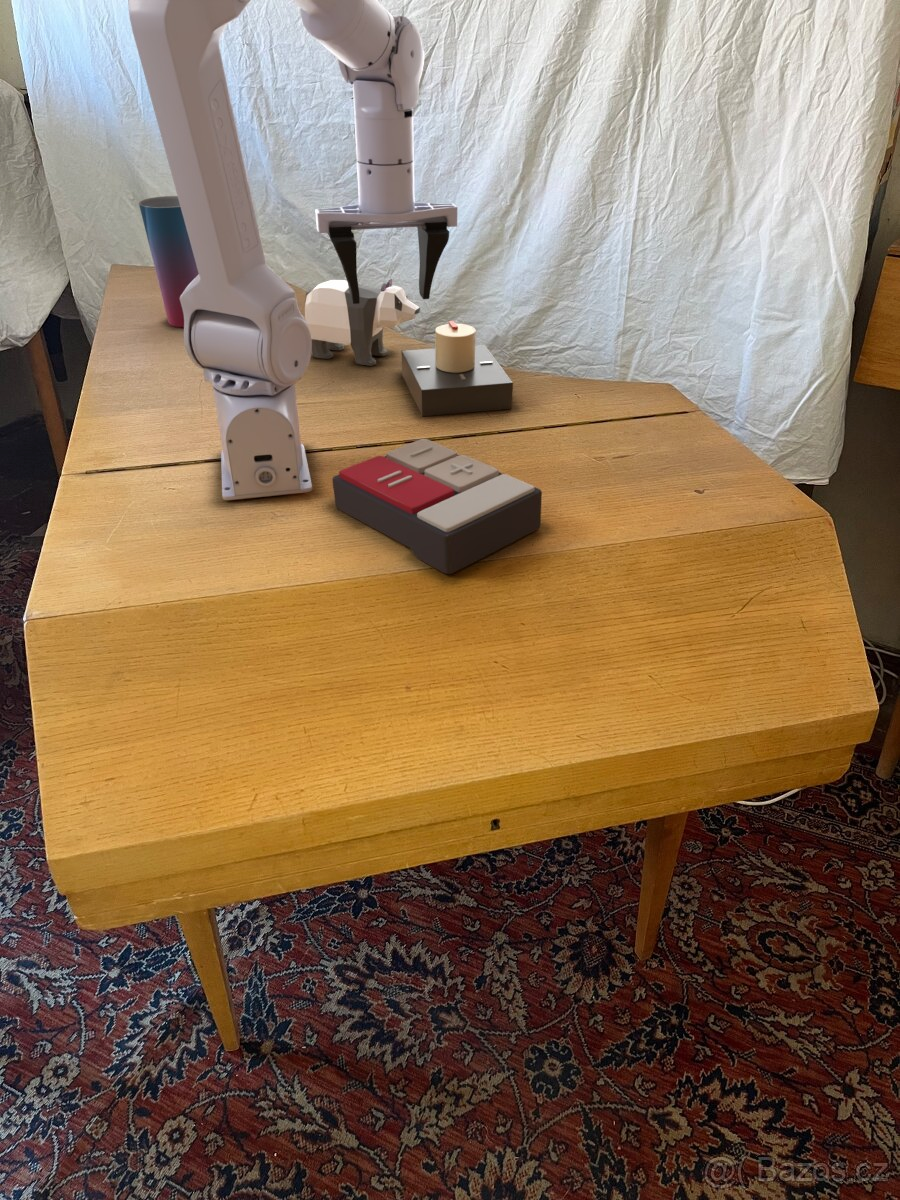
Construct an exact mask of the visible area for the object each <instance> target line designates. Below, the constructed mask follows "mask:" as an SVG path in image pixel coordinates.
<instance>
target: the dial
mask: <svg viewBox="0 0 900 1200" xmlns="http://www.w3.org/2000/svg"><path fill="white" fill-rule="evenodd" d="M434 331H435V335H434V336H435V337H434V339H435V341H434V344H435V346H434V347H435V365H436V367H437V368H438V369H439V370H442V371H445V372H452V373H459V372H466V371H469V370H471V369H473V368H474V366H475V345H476V340H477V339H476V335H477V330H476V328H475V327H474V326H472V325H469V324H465V323H456V322H455V321H454V320H448V323H445V324H441V325H439V326H437V327H436V328H435V330H434Z"/></svg>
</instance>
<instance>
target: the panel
mask: <svg viewBox="0 0 900 1200" xmlns="http://www.w3.org/2000/svg"><path fill="white" fill-rule="evenodd" d="M401 376H402V378H403V380H404V383H405V384H406V386H407V389H408V390H409V392H410V394H411V397H412V398H413V400H414V403H415V404H416V407H417V409H418V411H419V413H420V415H421V417H432V416H445V415H454V414H466V413H477V412H478V413H479V412H480V413H481V412H489V411H501V410H503V411H504V410H511V409H512V408H513V391H514V390H513V389H514V382H513V381H512V379H511V378H510V377H509V375H508V374H507V373H506V371H505V370H504V369H503V367H502V366H501V365H500V363H499V362H498V361H497V359H496V357H494V355H493V354H492V353H491V352H490V349H489V348H488V347H487V346H486V344H477V345H476V344H475V366H474V368H473V369H471V370H469V371H466V372H459V373H452V372H445V371H442V370H439V369H438V368H437V367H436V365H435V348H434V347H433V348H420V349H405V350H401Z"/></svg>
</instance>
